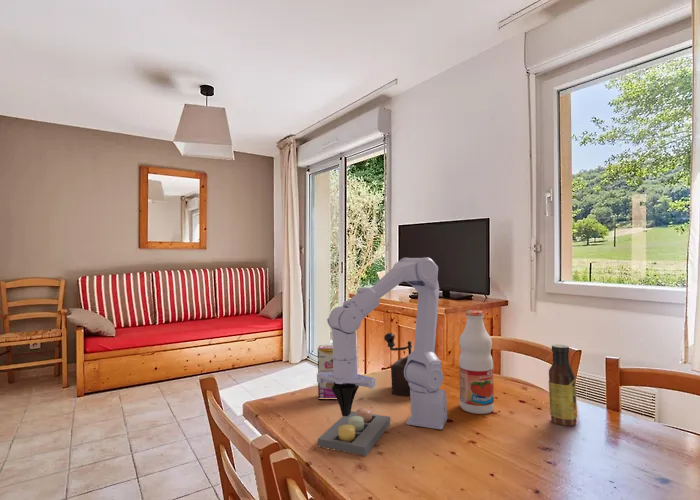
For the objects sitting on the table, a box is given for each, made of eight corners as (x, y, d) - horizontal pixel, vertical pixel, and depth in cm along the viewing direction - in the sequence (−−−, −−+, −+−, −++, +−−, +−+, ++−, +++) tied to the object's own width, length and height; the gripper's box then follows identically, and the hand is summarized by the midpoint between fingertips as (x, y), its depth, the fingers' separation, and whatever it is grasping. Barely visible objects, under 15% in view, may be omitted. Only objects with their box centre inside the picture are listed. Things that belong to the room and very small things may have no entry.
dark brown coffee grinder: (431, 387, 134) (429, 334, 135) (422, 398, 124) (421, 340, 125) (387, 382, 141) (386, 331, 141) (376, 392, 131) (374, 337, 131)
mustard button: (358, 436, 96) (357, 426, 96) (351, 443, 93) (351, 433, 93) (342, 433, 98) (342, 423, 98) (335, 440, 94) (335, 430, 94)
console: (390, 424, 106) (390, 416, 106) (365, 456, 90) (365, 447, 90) (349, 418, 111) (348, 410, 111) (318, 447, 95) (318, 438, 95)
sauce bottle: (581, 428, 101) (578, 349, 101) (554, 426, 102) (551, 348, 103) (572, 417, 108) (569, 343, 108) (547, 416, 109) (544, 343, 109)
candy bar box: (318, 400, 125) (316, 348, 125) (320, 395, 130) (319, 344, 130) (353, 401, 124) (352, 347, 124) (355, 395, 129) (353, 344, 129)
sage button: (366, 426, 102) (366, 417, 102) (360, 433, 98) (360, 423, 98) (352, 424, 103) (351, 415, 103) (345, 430, 100) (345, 421, 100)
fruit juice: (475, 399, 122) (473, 308, 122) (501, 410, 114) (499, 311, 114) (453, 406, 117) (450, 310, 117) (478, 417, 109) (476, 314, 109)
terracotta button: (374, 418, 107) (373, 409, 107) (368, 424, 103) (368, 414, 103) (360, 416, 108) (360, 407, 108) (354, 421, 105) (354, 412, 105)
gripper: (310, 359, 95) (311, 416, 95) (367, 364, 89) (368, 425, 89) (323, 352, 101) (325, 406, 101) (377, 356, 96) (379, 413, 95)
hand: (346, 414), depth 96 cm, fingers closed
